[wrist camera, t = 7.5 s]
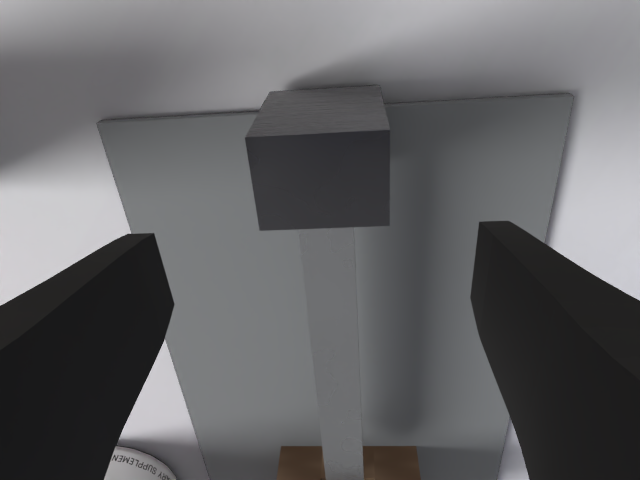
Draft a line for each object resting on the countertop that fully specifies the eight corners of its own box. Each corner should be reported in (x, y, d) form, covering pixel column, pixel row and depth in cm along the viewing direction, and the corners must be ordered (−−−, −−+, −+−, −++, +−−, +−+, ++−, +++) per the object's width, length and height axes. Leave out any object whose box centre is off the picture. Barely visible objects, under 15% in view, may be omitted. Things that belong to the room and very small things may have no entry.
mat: (569, 93, 18) (574, 96, 17) (490, 498, 31) (492, 504, 31) (100, 120, 19) (96, 123, 19) (218, 496, 32) (217, 502, 32)
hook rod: (379, 85, 17) (389, 129, 13) (382, 441, 28) (388, 531, 23) (269, 91, 18) (245, 137, 13) (313, 442, 28) (306, 530, 24)
